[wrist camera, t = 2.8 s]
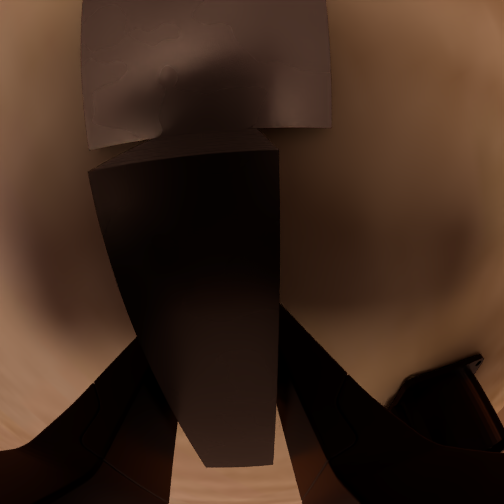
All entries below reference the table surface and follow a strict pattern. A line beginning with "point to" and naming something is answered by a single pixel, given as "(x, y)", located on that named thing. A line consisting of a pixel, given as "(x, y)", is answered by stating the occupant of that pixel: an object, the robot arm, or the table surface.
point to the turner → (202, 193)
